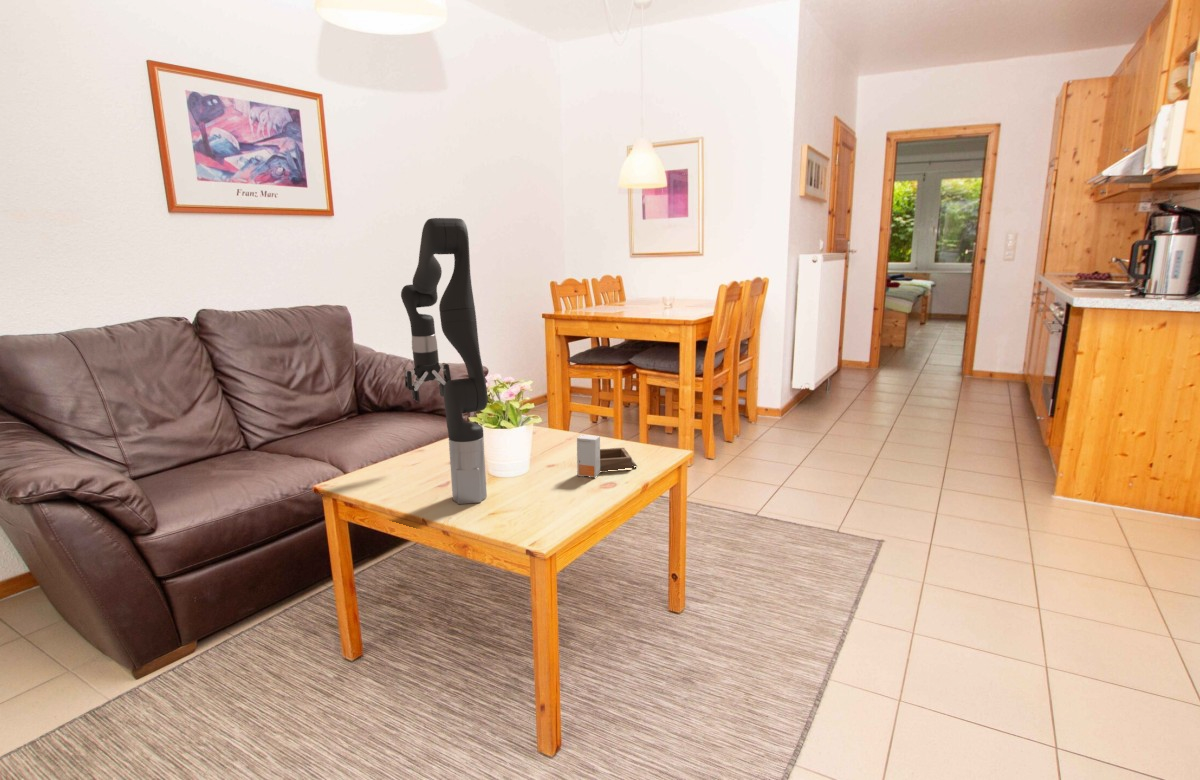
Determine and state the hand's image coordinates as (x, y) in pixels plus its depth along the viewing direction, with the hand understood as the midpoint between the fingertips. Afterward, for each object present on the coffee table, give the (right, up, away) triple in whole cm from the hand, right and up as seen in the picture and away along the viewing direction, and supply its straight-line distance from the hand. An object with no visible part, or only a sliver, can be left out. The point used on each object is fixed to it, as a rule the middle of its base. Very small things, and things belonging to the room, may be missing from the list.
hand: (430, 398), depth 200 cm
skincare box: (+51, -23, -10) cm, 56 cm away
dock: (+58, -21, -2) cm, 62 cm away
